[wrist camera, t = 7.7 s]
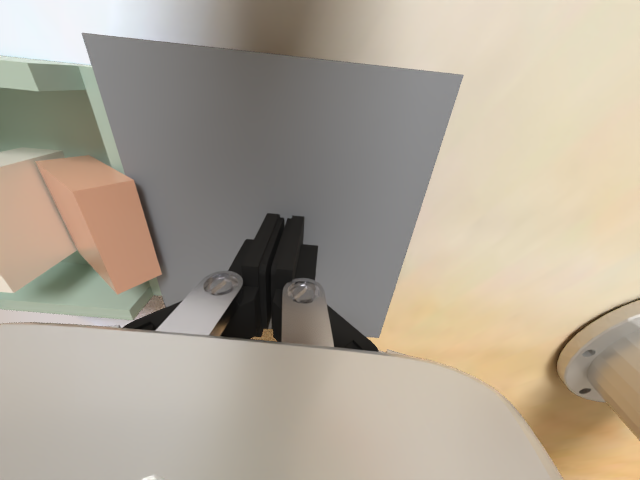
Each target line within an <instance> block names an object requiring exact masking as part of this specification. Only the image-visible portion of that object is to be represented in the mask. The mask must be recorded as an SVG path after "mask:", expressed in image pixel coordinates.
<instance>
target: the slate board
mask: <svg viewBox="0 0 640 480" xmlns="http://www.w3.org/2000/svg"><path fill="white" fill-rule="evenodd" d="M82 36H83V39H84V42H85V45H86V49H87V52H88V55H89V58H90V62H91V65H92V68H93V71H94V75H95V78H96V81H97V85H98V88H99V91H100V94H101V98H102V101H103V104H104V107H105V111H106V114H107V117H108V121H109V124H110V127H111V130H112V134H113V137H114V140H115V143H116V147H117V150H118V153H119V157H120V160H121V163H122V166H123V170H124V173H125V175H126V176H128V177H129V178H131V179H133V180H134V182H135V185H136V189H137V192H138V195H139V199H140V202H141V206H142V209H143V212H144V216H145V219H146V222H147V226H148V229H149V232H150V236H151V239H152V242H153V246H154V249H155V253H156V256H157V259H158V263H159V266H160V269H161V273H162V275H159V276H157V277H156V278H157V281H158V284H159V287H160V291H161V294H162V297H163V300H164V304H165V307H168V306H171V305H173V304H175V303H178V302H180V301H183V300H184V299H185V298H186V297H187V296H188V294H189V293H190V292H191V291H192V290H193V289H194V288H195V287H196V286H197V285H198V284H199V282H200V281H201V280H202V279H204V278H205V277H206V276H208V275H210V274H212V273H215V272H218V271H228V270H229V268H230V266H231V264H232V262H233V261H234V259H235V257H236V255H237V253H238V252H239V250H240V248H241V246H242V245H243V243H244V241H245V240H246V239H253V240H254V238H255V236H256V234H257V232H258V230H259V228H260V226H261V224H262V222H263V220H264V218H265V216H266V214H267V213H272V214H280V217H281V218H284V227H285V224H286V221H287V218H292V215H293V216H304V217H305V219H304V237H303V244H307V245H318V253H317V265H316V276H315V281H316V282H318V283H320V285H321V286H322V287H323V289H324V292H325V297H326V303H327V305H328V306H329V307H331V308H332V309H333V310H334V311H335V312H337V313H338V314H339V315H340V316H341V317H343V318H344V319H345V320H346V321H347V322H349V323H350V324H351V325H352V326H353V327H354V328H356V329H357V330H358V331H359V332H360V333H362V334H363V335H364V336H365V337H374V338H379V336H380V333H381V330H382V327H383V323H384V320H385V317H386V314H387V311H388V308H389V305H390V302H391V299H392V296H393V292H394V289H395V286H396V283H397V280H398V277H399V274H400V271H401V268H402V264H403V261H404V258H405V255H406V252H407V249H408V246H409V243H410V240H411V237H412V233H413V230H414V227H415V224H416V221H417V218H418V215H419V212H420V209H421V206H422V202H423V199H424V196H425V193H426V190H427V187H428V184H429V181H430V178H431V174H432V171H433V168H434V165H435V162H436V159H437V156H438V153H439V150H440V147H441V143H442V140H443V137H444V134H445V131H446V128H447V125H448V122H449V119H450V115H451V112H452V109H453V106H454V103H455V100H456V97H457V94H458V91H459V88H460V84H461V81H462V78H463V75H460V74H451V73H442V72H433V71H424V70H415V69H406V68H397V67H387V66H378V65H369V64H360V63H351V62H342V61H333V60H324V59H315V58H306V57H297V56H288V55H279V54H270V53H260V52H251V51H242V50H233V49H224V48H215V47H206V46H197V45H188V44H179V43H170V42H161V41H152V40H143V39H134V38H124V37H115V36H106V35H97V34H88V33H82ZM268 329H272V324H271V320H270V324H269V327H268Z"/></svg>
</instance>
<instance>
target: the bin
mask: <svg viewBox="0 0 640 480" xmlns="http://www.w3.org/2000/svg"><path fill="white" fill-rule="evenodd" d="M21 147H25V148H37V149H50V150H62V151H63V154H64V156H65V158H67V157H76V156H85V155H90V156H92V157H94V158H95V159H97V160H99V161H101V162H103V163H104V164H106V165H108V166H110V167H111V168H113V169H115V170H117V171H119V172H120V173H122V174H124V175H125V173H124V170H123V166H122V163H121V160H120V157H119V153H118V150H117V147H116V143H115V140H114V137H113V134H112V130H111V127H110V124H109V121H108V117H107V114H106V111H105V107H104V104H103V101H102V98H101V94H100V91H99V88H98V85H97V81H96V78H95V75H94V71H93V68H92V65H83V64H74V63H64V62H55V61H46V60H36V59H27V58H18V57H8V56H0V152H2V151H7V150H12V149H16V148H21ZM153 295H157V296H162V294H161V291H160V287H159V284H158V281H157V278H156V277H155V278H153V279H151V280H148V281H146V282H144V283H142V284H140V285H137V286H135V287H133V288H131V289H129V290H127V291H124V292H122V293H120V294H118V295H117V294H116V293H115V292H114V290H113V289H112V288H111V287H110V286H109V285H108V284H107V283H106V282H105V281H104V279H103V278H102V277H101V276H100V275H99V274H98V273H97V272H96V271H95V270H94V269H93V267H92V266H91V265H90V264H89V263H88V262H87V261H86V260H85V259H84V258H83V257H82V255H81V254H80V253H79V252H78V250H77V251H75V252H74V253H72V254H71V255H69V256H68V257H66V258H65V259H63V260H62V261H60V262H59V263H58V264H56V265H55V266H53V267H52V268H50V269H49V270H47V271H46V272H44V273H43V274H41V275H40V276H38V277H37V278H35V279H34V280H32V281H31V282H29V283H28V284H27V285H25V286H24V287H22V288H21V289H19V290H18V291H16V292H15V293H7V292H0V309H4V310H16V311H28V312H40V313H52V314H64V315H76V316H88V317H100V318H112V319H124V320H134V319H135V317H136V316H137V315H138V314H139V312H140V311H141V310H142V309H143V308H144V306H145V305H146V304H147V303H148V301H149V300H150V299H151V298H152V296H153Z"/></svg>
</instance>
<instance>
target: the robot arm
mask: <svg viewBox="0 0 640 480" xmlns="http://www.w3.org/2000/svg"><path fill="white" fill-rule="evenodd" d="M304 219H305V217H304V216H293V215H292V218H287V221H286V224H285V227H284V218H281V217H280V214H272V213H267V214H266V216H265V218H264V220H263V222H262V224H261V226H260V228H259V230H258V232H257V234H256V236H255V238H254V240H253V239H246V240H245V241H244V243H243V245H242V246H241V248H240V250H239V252H238V253H237V255H236V257H235V259H234V261H233V262H232V264H231V266H230V268H229V270H228V271H218V272H215V273H212V274H210V275H208V276H206V277H205V278H204V279H202V280H201V281H200V282H199V284H198V285H197V286H196V287H195V288H194V289H193V290H192V291H191V292H190V293H189V294H188V296H187V297H186V298H185V299H184V300H183V301H180V302H178V303H175V304H173V305H171V306H168V307H166V308H163V309H161V310H159V311H156V312H154V313H151V314H149V315H147V316H144V317H142V318H139V319H137V320H135V321H133V322H131V323H129V324H127V325H126V326H124V327H123V328H121V327H120V325H115V326H91V325H77V324H57V323H37V322H33V323H32V322H30V323H3V324H0V480H564V479H563V477H562V476H561V474H560V472H559V471H558V469H557V467H556V466H555V464H554V463H553V461H552V459H551V458H550V456H549V455H548V453H547V452H546V450H545V448H544V447H543V445H542V444H541V442H540V441H539V439H538V438H537V437H536V435H535V434H534V432H533V431H532V429H531V428H530V426H529V425H528V423H527V422H526V421H525V419H524V418H523V417H522V416H521V414H520V413H519V412H518V411H517V409H516V408H515V407H514V406H513V405H512V404H511V403H510V402H509V401H508V400H507V399H506V398H505V397H504V396H503V395H502V394H501V393H499V392H498V391H497V390H495V389H494V388H493V387H491V386H490V385H488V384H486V383H485V382H483V381H481V380H479V379H478V378H476V377H474V376H472V375H470V374H467V373H465V372H463V371H460V370H458V369H456V368H453V367H451V366H447V365H444V364H441V363H438V362H435V361H431V360H427V359H422V358H418V357H413V356H408V355H405V354H401V353H398V352H394V351H391V350H388V349H387V351H386V352H382V351H379V350H378V349H377V347H376V346H375V345H374V344H373V343H372V342H371V341H370V340H369V339H368V338H366V337H365V336H364V335H363V334H362V333H360V332H359V331H358V330H357V329H356V328H354V327H353V326H352V325H351V324H350V323H349V322H347V321H346V320H345V319H344V318H343V317H341V316H340V315H339V314H338V313H337V312H335V311H334V310H333V309H332V308H331V307H329V306H328V305H327V303H326V297H325V292H324V289H323V287H322V286H321V285H320V283H318V282H316V281H315V276H316V265H317V253H318V245H307V244H303V237H304ZM270 320H271V324H272V329H273V337H274V338H275V339H276V340H277V341H278V342H275V341H265V340H254V339H251V338H252V337H261V336H262V332H263V329H268V327H269V324H270ZM557 372H558V375H559V377H560V379H561V380H562V381H563V382H564V384H565V385H566V386H567V387H568V389H569V390H570V391H571V392H573V393H574V394H575V395H577V396H580V397H582V398H585V399H588V400H593V401H597V402H607V404H608V405H609V406H610V407H611V408H612V409H613V411H614V412H615V413H616V414H617V415H618V416H619V418H620V419H621V420H622V421H623V422H624V423H625V424H626V426H627V427H628V428H629V429H630V430H631V431H632V433H633V434H634V435H635V436H636V437H637V438H638V440H639V441H640V300H638V301H635V302H632V303H629V304H627V305H624V306H622V307H620V308H618V309H616V310H614V311H612V312H609V313H607V314H605V315H604V316H602V317H600V318H599V319H597V320H595V321H594V322H592V323H590V324H589V325H588V326H586V327H585V328H584V329H582V330H581V331H580V332H578V333H577V334H576V335H575V336H574V337H573V338H572V339H571V340H570V341H569V342H568V343H567V344H566V346H565V347H564V349H563V350H562V352H561V353H560V356H559V359H558V361H557Z"/></svg>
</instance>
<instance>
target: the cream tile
mask: <svg viewBox="0 0 640 480" xmlns="http://www.w3.org/2000/svg"><path fill="white" fill-rule="evenodd" d="M59 158H65V156H64V154H63V151H62V150H50V149H37V148H25V147H21V148H16V149H12V150H7V151H2V152H0V292H7V293H15V292H16V291H18V290H19V289H21V288H22V287H24V286H25V285H27V284H28V283H29V282H31V281H32V280H34V279H35V278H37V277H38V276H40V275H41V274H43V273H44V272H46V271H47V270H49V269H50V268H52V267H53V266H55V265H56V264H58V263H59V262H60V261H62V260H63V259H65V258H66V257H68V256H69V255H71V254H72V253H74V252H75V251H77V248H76V246H75V243H74V241H73V239H72V237H71V235H70V233H69V231H68V229H67V227H66V225H65V223H64V221H63V218H62V216H61V214H60V212H59V210H58V208H57V206H56V204H55V202H54V200H53V198H52V196H51V194H50V191H49V189H48V187H47V185H46V183H45V181H44V179H43V177H42V175H41V173H40V171H39V169H38V167H37V164H36V162H35V161H42V160H50V159H59Z"/></svg>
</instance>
